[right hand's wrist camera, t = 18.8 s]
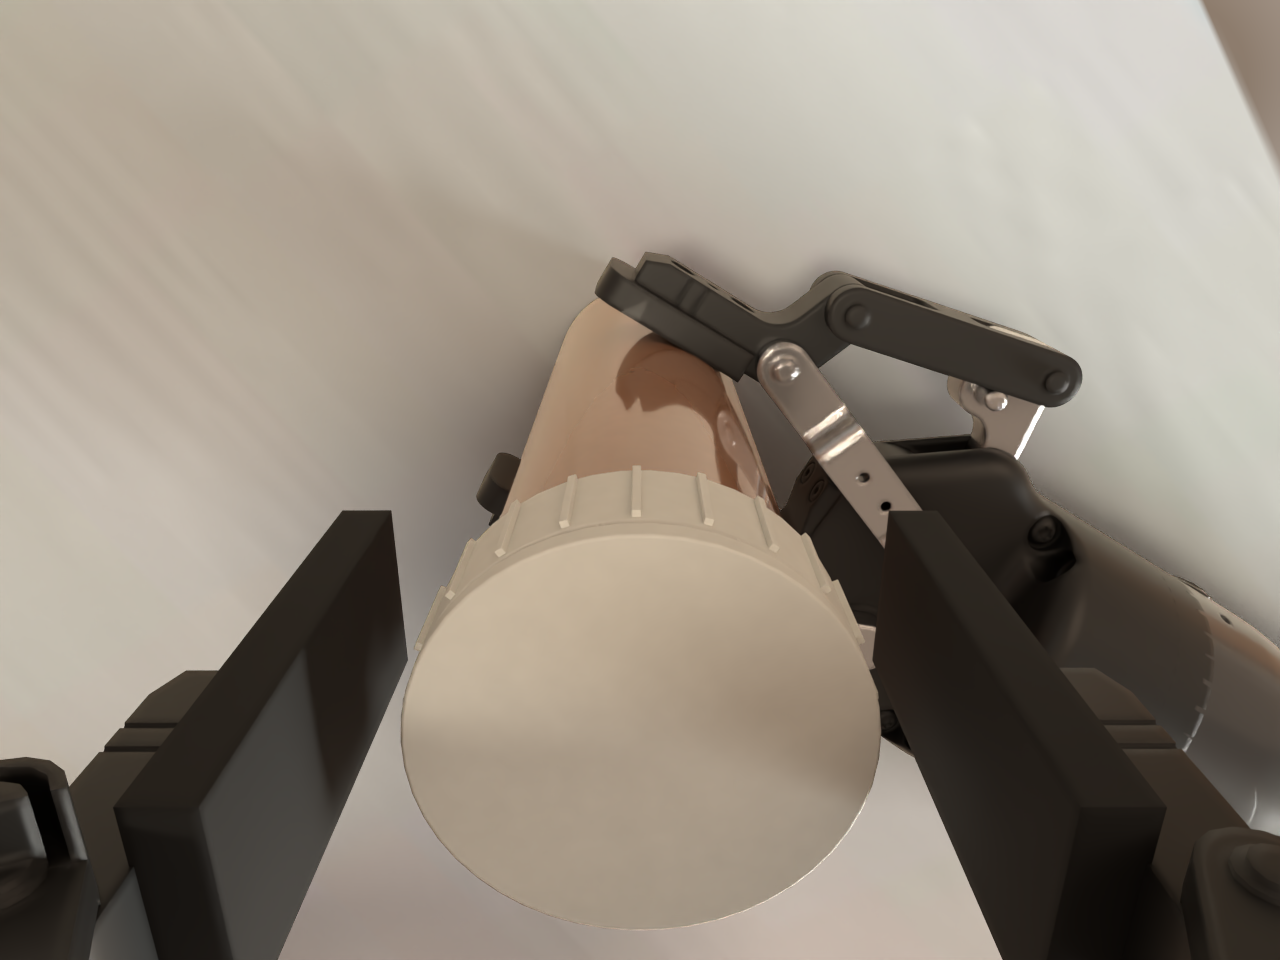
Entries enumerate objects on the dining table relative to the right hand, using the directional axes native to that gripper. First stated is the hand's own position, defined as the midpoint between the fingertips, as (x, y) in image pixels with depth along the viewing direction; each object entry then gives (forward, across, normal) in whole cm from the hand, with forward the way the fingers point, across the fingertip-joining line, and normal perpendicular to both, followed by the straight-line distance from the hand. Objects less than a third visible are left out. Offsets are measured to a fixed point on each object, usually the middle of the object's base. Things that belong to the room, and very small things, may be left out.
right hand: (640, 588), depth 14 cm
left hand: (+8, -2, +1) cm, 8 cm away
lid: (-4, 0, 0) cm, 4 cm away
